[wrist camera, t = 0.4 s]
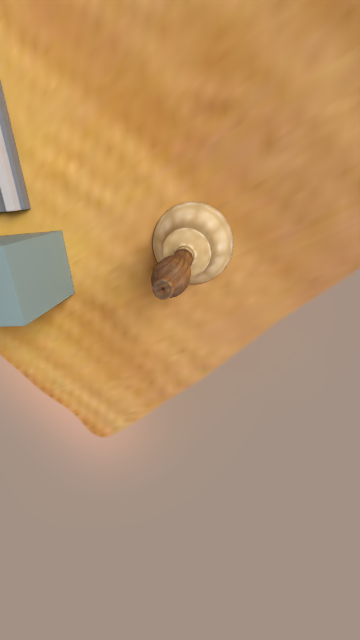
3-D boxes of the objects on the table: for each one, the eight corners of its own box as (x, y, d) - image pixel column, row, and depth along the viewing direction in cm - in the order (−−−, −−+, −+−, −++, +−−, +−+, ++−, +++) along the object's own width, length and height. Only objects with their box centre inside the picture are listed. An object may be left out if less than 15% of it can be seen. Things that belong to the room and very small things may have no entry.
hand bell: (249, 230, 34) (257, 264, 19) (205, 297, 37) (184, 370, 23) (178, 184, 34) (130, 185, 19) (139, 257, 37) (74, 305, 22)
